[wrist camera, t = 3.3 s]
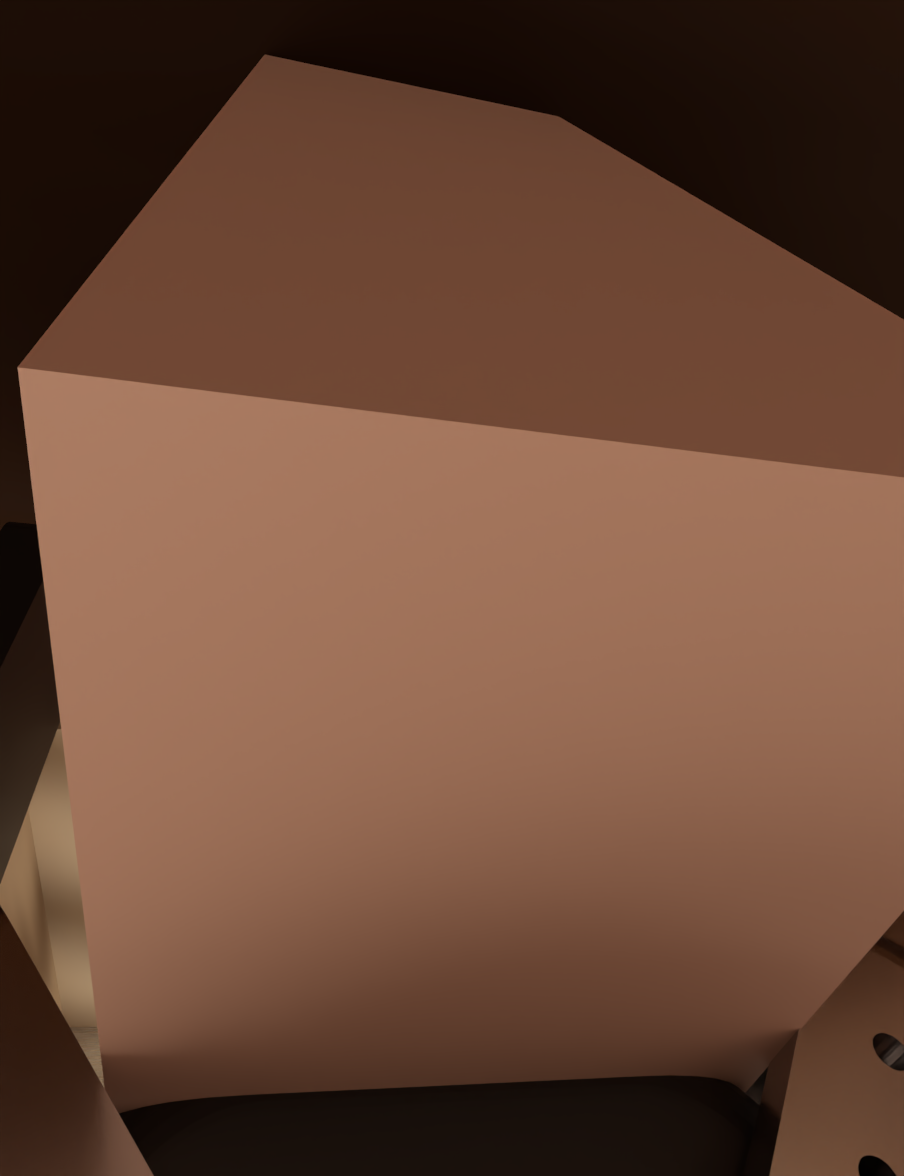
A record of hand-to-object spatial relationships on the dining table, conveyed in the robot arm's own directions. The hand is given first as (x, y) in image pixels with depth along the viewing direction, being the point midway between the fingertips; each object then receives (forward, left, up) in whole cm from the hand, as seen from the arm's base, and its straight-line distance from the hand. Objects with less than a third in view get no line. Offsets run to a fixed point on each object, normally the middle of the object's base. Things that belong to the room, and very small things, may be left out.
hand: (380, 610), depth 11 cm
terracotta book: (0, 0, -5) cm, 5 cm away
